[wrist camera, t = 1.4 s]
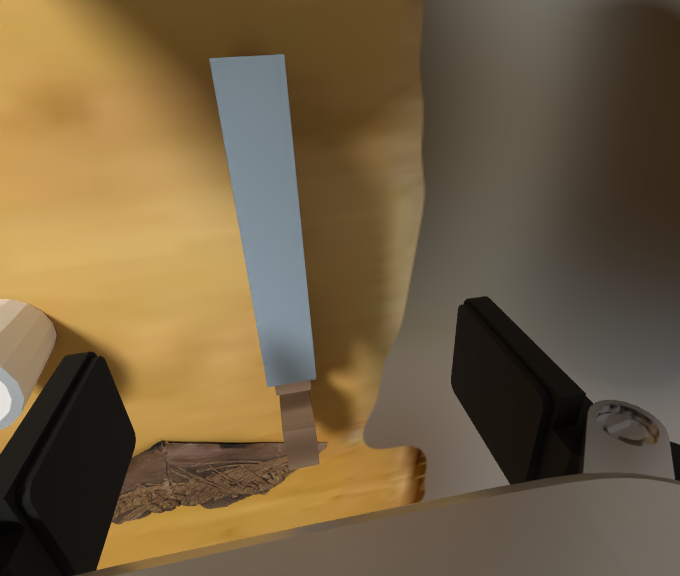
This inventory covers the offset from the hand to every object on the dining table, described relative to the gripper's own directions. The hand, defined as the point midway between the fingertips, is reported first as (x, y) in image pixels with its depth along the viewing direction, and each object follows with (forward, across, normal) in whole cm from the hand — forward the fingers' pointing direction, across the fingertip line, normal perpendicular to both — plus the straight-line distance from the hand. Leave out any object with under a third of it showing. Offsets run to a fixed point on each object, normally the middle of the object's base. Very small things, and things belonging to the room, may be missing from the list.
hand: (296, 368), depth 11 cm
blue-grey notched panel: (+21, 0, -1) cm, 21 cm away
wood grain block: (+21, 0, +14) cm, 25 cm away
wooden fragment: (+22, +11, +28) cm, 37 cm away
